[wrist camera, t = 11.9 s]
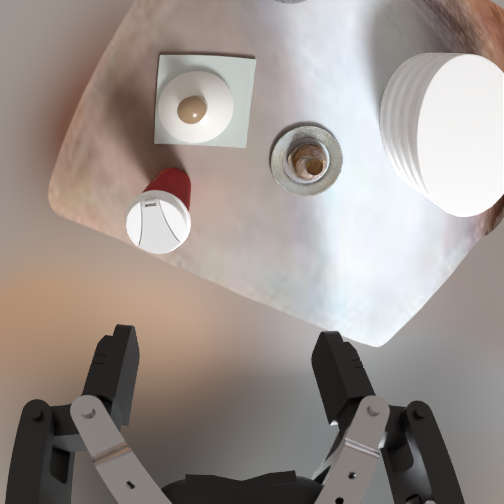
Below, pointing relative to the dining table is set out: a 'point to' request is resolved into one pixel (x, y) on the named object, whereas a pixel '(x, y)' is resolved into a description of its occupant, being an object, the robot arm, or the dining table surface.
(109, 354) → the robot arm
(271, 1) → the dining table surface
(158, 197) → the coffee cup
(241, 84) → the rubber mat
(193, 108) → the cup lid
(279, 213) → the dining table surface
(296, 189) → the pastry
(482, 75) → the plate stack
